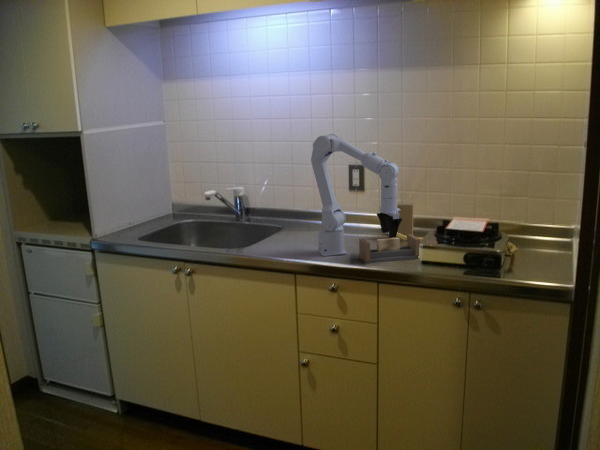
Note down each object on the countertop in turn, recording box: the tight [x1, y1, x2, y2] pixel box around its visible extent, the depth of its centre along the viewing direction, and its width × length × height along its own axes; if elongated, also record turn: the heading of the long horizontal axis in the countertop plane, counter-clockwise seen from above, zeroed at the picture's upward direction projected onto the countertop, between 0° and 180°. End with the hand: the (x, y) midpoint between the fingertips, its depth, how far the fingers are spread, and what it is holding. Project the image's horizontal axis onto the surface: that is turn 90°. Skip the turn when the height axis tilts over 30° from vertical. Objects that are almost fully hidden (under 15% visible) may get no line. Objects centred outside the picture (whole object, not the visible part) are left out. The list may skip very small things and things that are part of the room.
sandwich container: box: [393, 203, 415, 242], centre depth 235 cm, size 9×15×15 cm, turn 167°
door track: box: [358, 234, 421, 264], centre depth 205 cm, size 20×8×7 cm, turn 101°
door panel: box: [376, 237, 401, 252], centre depth 205 cm, size 8×2×6 cm, turn 101°
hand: (389, 234), depth 204 cm, fingers open, 7 cm apart
